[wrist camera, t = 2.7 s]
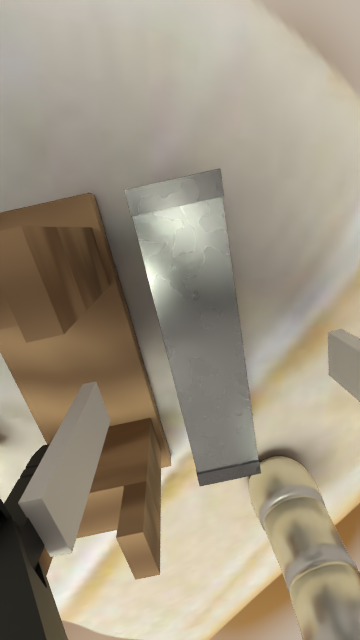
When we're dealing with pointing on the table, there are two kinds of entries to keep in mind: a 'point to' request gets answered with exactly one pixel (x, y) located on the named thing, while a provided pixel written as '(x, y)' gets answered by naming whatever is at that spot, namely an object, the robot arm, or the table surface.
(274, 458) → the plastic bottle
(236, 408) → the rail
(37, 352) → the brown wooden u-shaped block
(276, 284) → the table surface
